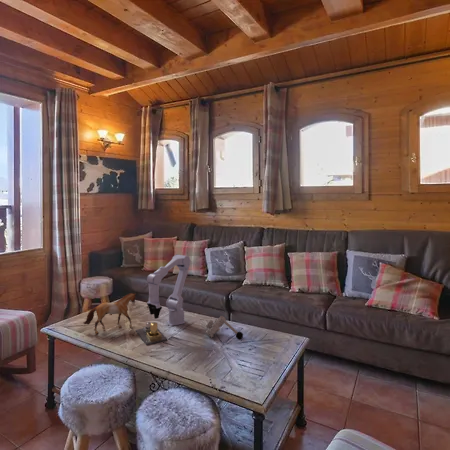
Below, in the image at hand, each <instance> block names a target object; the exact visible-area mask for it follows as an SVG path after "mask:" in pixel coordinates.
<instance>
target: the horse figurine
mask: <svg viewBox="0 0 450 450" xmlns="http://www.w3.org/2000/svg"><path fill="white" fill-rule="evenodd" d="M136 296H137V293H136V292H130V293H127V294H125V295H124V296H122V297H121V298H120V299H118V300H117V301H116V302H108V301H107V302H106V301H105V302H103V303H100V304H98V305H97V306H95V307H93V308H92V309H91V310H89V312H88V314H87V315H86V320H85V321H83V323H82V324H84V325H90V324H91V322H92V321H93V319H94V317H95V313H96V316H97V319H96V321H95V323H94V329H93V330H94V334H97V333H98V334H99V332H98V329H97V326H98V325H99V323H100V325H101V326H102V330H105V328H106V326H105V324H104V323H103V318H104V317H105V316H106V315H118V316H117V326H118V328H122V325H121V324H120V320H121V316H122V315H123V316H124V317H125V318H127V319H128V321H129V327H130V328H133V327H132V325H133V323H132V320H131V317H130V315H129V313H128V311H129V308H128V305H129V303H130V301H131V303H132V304H133V305H135V304H136V298H137V297H136Z"/></svg>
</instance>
